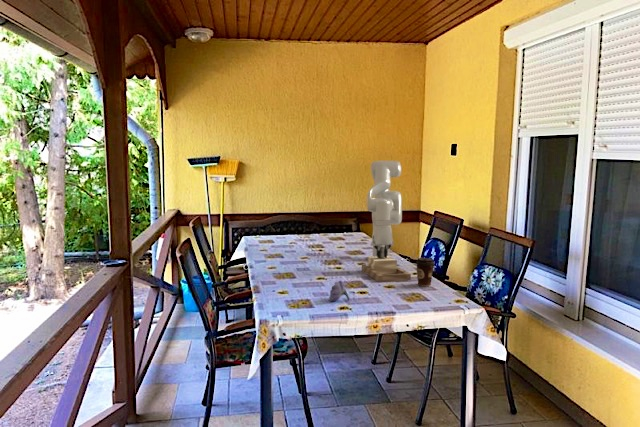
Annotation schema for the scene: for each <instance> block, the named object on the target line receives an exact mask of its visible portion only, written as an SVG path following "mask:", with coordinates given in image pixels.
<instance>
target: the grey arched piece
mask: <svg viewBox="0 0 640 427" xmlns="http://www.w3.org/2000/svg"><path fill="white" fill-rule="evenodd" d="M329 294H330V295H329V297H328V301H329V302H332V303H333V302H336V301H338V300H339V299H340V298H341V297H342V296H343V295H344V296H345V297H346V299H347V301H350V296H349V294H348V292H347V289H346V288H345V286H344V285H343V282H342V281H341V280H337V281H334V284H333V285H332V286H331V290H330V291H329Z"/></svg>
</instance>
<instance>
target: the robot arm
mask: <svg viewBox="0 0 640 427" xmlns="http://www.w3.org/2000/svg"><path fill="white" fill-rule="evenodd" d="M370 172H371V176H372V179H373V182H374V184H373V185H372V186H371V187H370V188H369V190H368V193H367V195H366V208H367V210H368V212H371V220H372V236H371V242H370V246H371V247H372V257H373V256H377V257H378V258H381V251H380V247H385V249H384V257H385V258H387V256H390V254H389V253H390V252H389V251H390V249H391V247H393V246H394V245H395V243H394V240H393V230H392V226H391V225H393V226H394V225H395V226H396V225H397V226H398V225H400V224H401V223H402V222H403V221H402V220H403V199H402V198H403V197H402V194H401V192H400V191H398V190H390V187H391V186H392V184H391V178H400V176H401V174H402V165H401V162H400V161H399V160H376V161H375V160H374V161H372V162H371V164H370Z"/></svg>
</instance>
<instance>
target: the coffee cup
mask: <svg viewBox="0 0 640 427" xmlns="http://www.w3.org/2000/svg"><path fill="white" fill-rule="evenodd" d="M415 264H416V277H417V285H418V286H420V287H425V286H429V287H431V286H432V284H431V283H432V277H433V274H434V272H433V271H434V267H435V262H434V260H433V259H432V258H427V257H418V258H417V260H416V261H415Z"/></svg>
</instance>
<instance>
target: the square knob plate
mask: <svg viewBox="0 0 640 427" xmlns="http://www.w3.org/2000/svg"><path fill="white" fill-rule="evenodd" d="M384 249H385V247H380V251H381V258H378V257H377V256H373V255H372V256H367V262H366V263H367V264H366V265H367V266H368V267H370V268H372V269H373V270H375V271H376V272H378V273H380V274H394V273H397V267H398V260H397V259H395V258H393V257H392V256H390V255H389V256H387V258H385V257H384Z"/></svg>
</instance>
